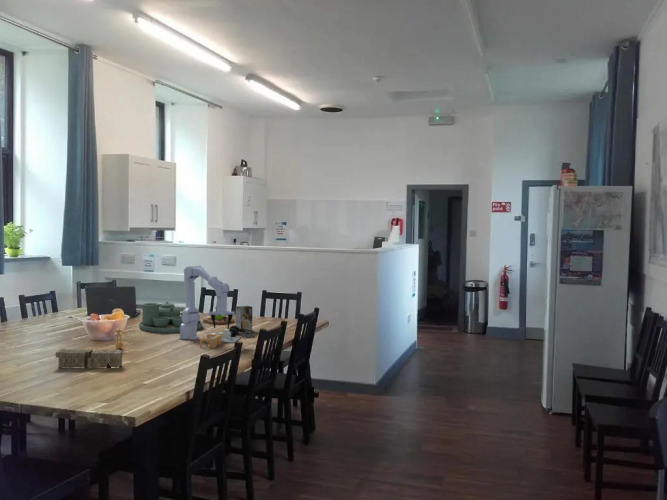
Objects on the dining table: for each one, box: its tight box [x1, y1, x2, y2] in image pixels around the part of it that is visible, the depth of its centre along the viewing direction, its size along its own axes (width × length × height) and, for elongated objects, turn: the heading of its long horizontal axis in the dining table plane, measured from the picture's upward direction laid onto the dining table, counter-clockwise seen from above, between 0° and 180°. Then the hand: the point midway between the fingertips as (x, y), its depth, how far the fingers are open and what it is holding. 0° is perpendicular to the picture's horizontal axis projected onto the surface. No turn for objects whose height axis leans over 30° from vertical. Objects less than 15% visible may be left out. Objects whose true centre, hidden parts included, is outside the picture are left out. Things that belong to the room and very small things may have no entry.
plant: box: [202, 306, 235, 326], centre depth 408 cm, size 20×20×11 cm
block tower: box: [55, 348, 123, 368], centre depth 277 cm, size 8×8×29 cm
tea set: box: [138, 301, 203, 334], centre depth 383 cm, size 40×40×16 cm
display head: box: [203, 328, 241, 344], centre depth 347 cm, size 18×14×5 cm
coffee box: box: [235, 305, 253, 331], centre depth 378 cm, size 9×6×16 cm
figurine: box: [110, 327, 127, 350], centre depth 315 cm, size 8×6×12 cm
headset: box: [224, 319, 255, 338], centre depth 362 cm, size 14×10×20 cm
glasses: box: [199, 333, 222, 349], centre depth 331 cm, size 8×13×5 cm, turn 173°
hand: (221, 327), depth 335 cm, fingers open, 7 cm apart
